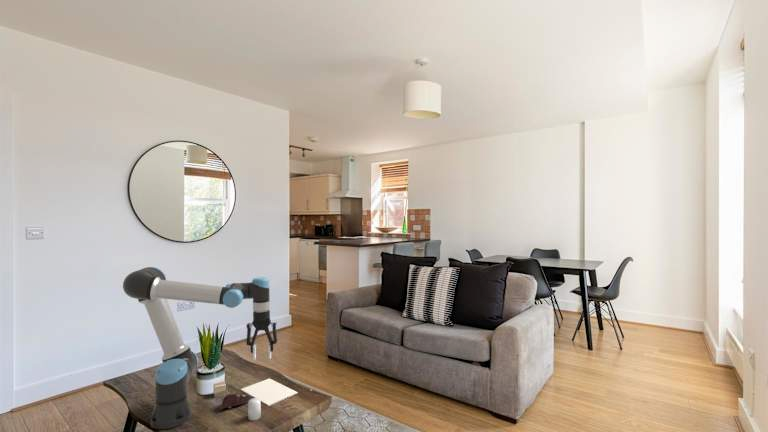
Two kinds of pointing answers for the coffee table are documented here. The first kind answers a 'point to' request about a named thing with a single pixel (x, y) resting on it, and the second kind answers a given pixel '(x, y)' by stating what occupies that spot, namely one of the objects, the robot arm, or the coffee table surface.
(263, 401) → the cream mat
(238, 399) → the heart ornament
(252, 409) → the white cylinder
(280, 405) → the coffee table surface
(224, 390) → the beech block
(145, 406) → the coffee table surface
